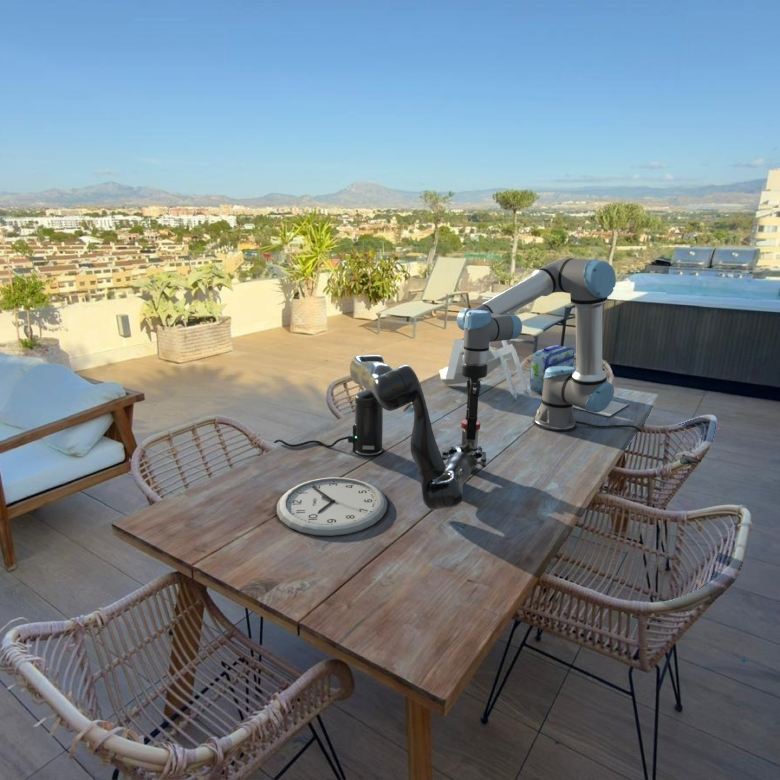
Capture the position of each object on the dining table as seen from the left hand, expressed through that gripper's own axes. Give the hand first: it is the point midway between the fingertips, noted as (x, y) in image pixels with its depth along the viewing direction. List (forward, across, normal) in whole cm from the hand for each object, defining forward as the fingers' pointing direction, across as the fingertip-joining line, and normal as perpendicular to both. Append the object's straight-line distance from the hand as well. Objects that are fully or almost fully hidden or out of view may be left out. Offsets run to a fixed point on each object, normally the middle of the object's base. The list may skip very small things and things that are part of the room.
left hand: (470, 447), depth 167 cm
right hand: (-3, 0, -6) cm, 6 cm away
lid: (-3, 0, -9) cm, 10 cm away
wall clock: (-40, +29, +6) cm, 50 cm away
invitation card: (+80, -40, +6) cm, 89 cm away
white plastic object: (+79, +13, +6) cm, 80 cm away
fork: (+47, +37, +6) cm, 60 cm away
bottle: (-3, 0, +6) cm, 7 cm away
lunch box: (+96, -17, +6) cm, 97 cm away
